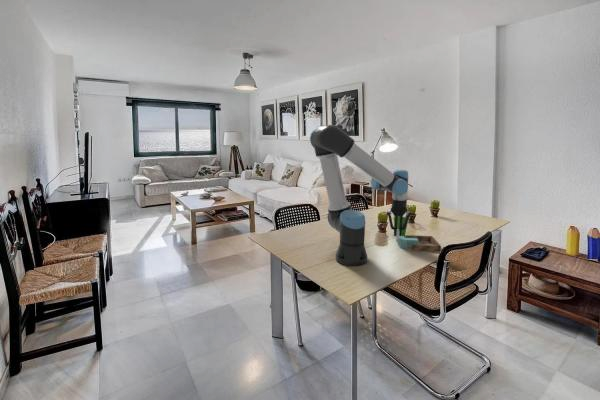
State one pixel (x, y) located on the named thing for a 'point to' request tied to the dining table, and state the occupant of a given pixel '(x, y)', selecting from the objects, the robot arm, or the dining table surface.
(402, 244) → the tee
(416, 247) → the corral
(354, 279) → the dining table surface
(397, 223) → the cup
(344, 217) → the robot arm
